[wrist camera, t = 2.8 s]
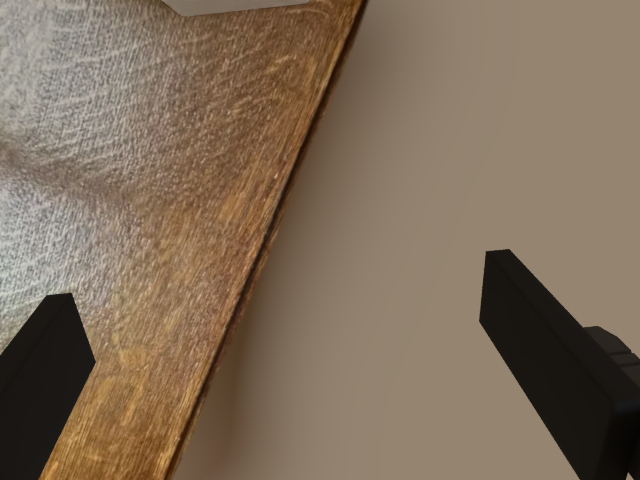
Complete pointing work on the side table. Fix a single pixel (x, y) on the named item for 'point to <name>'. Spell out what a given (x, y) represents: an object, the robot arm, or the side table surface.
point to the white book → (224, 5)
